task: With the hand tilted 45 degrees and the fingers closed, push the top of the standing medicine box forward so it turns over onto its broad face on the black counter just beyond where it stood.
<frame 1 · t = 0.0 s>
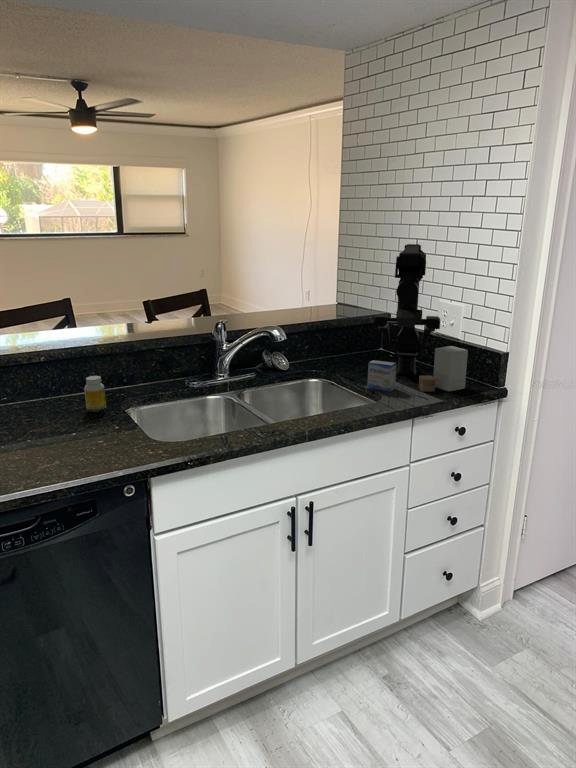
hand: (405, 350, 166), 15 cm above the worktop, tool pointing down, fingers open, 9 cm apart
supplement box: (448, 387, 181), on the worktop
walnut block: (426, 389, 178), on the worktop
supplement bottle: (96, 410, 161), on the worktop
medicine box: (381, 389, 180), on the worktop
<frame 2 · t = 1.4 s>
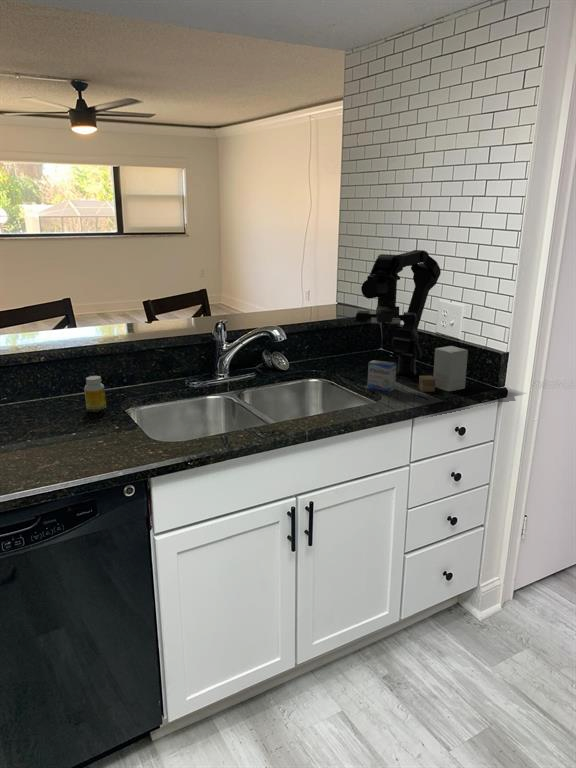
hand: (384, 343, 182), 13 cm above the worktop, tool pointing down, fingers closed
nothing on the worktop moved.
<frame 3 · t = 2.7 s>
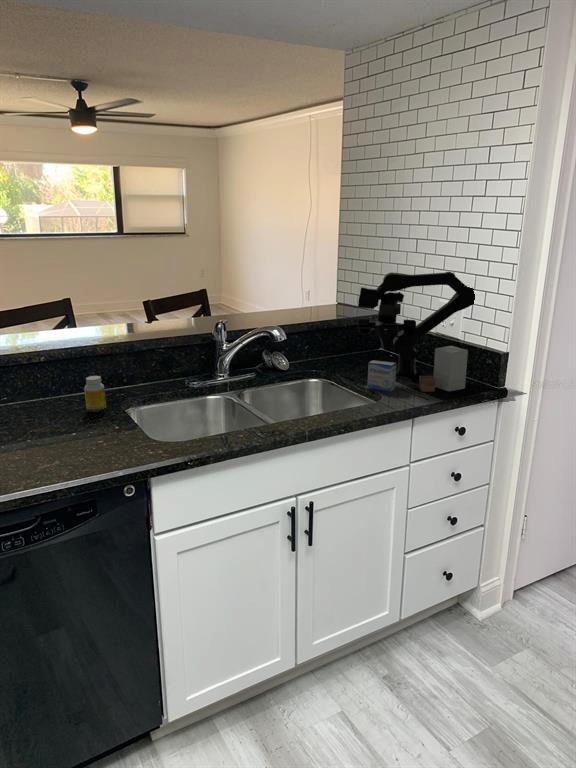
hand: (384, 348, 182), 12 cm above the worktop, tool tilted 45°, fingers closed
nothing on the worktop moved.
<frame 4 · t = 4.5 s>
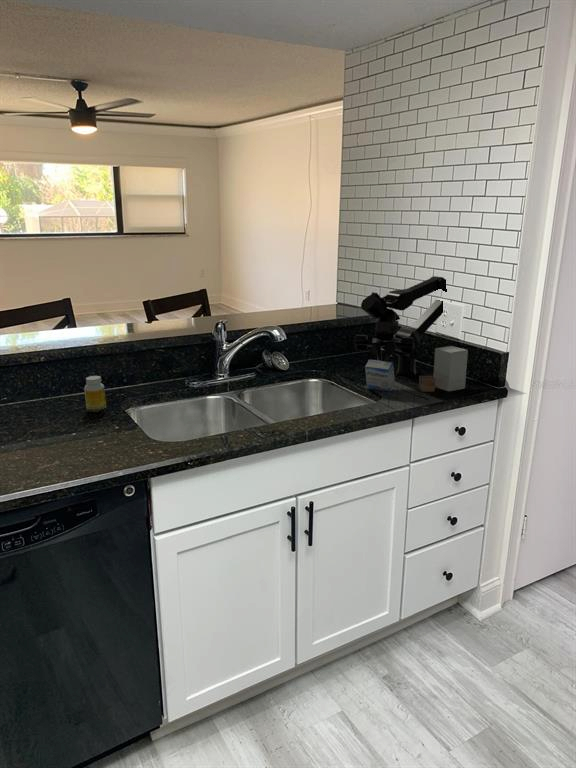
hand: (381, 366, 177), 7 cm above the worktop, tool tilted 45°, fingers closed
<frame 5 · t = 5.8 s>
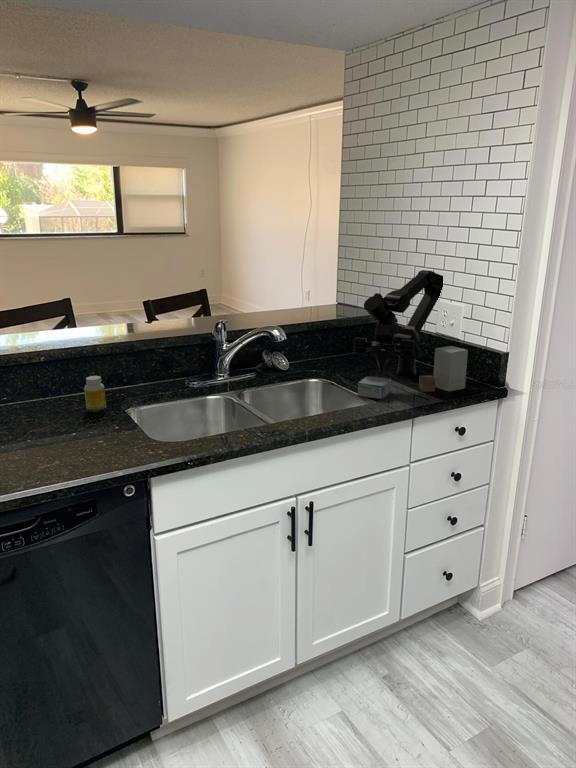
hand: (381, 370, 174), 7 cm above the worktop, tool tilted 45°, fingers closed
medicine box: (379, 383, 177), point 2 cm above the worktop
everything else where it was.
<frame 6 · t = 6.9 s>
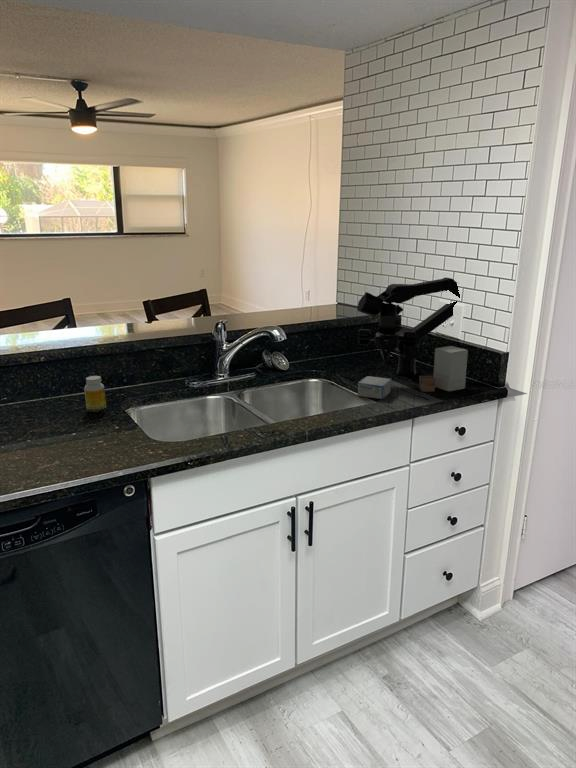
hand: (385, 360, 181), 8 cm above the worktop, tool tilted 45°, fingers closed
nothing on the worktop moved.
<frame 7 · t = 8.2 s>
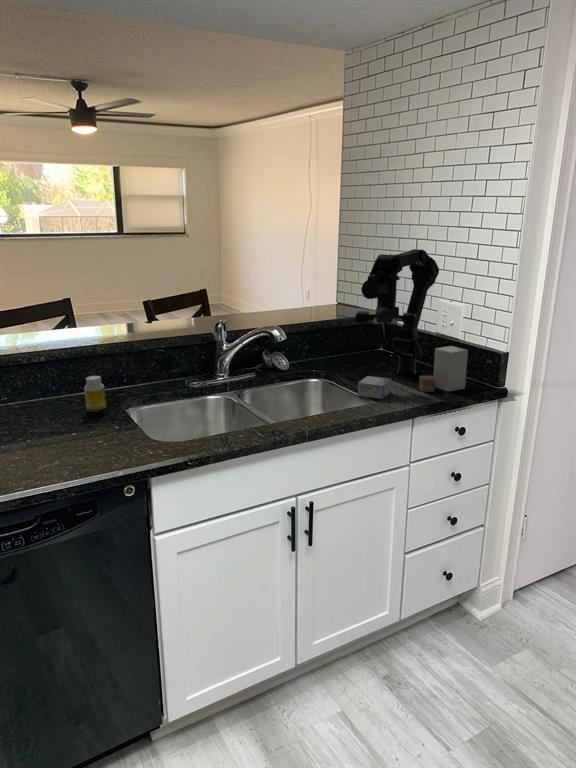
hand: (384, 344, 181), 13 cm above the worktop, tool pointing down, fingers closed
nothing on the worktop moved.
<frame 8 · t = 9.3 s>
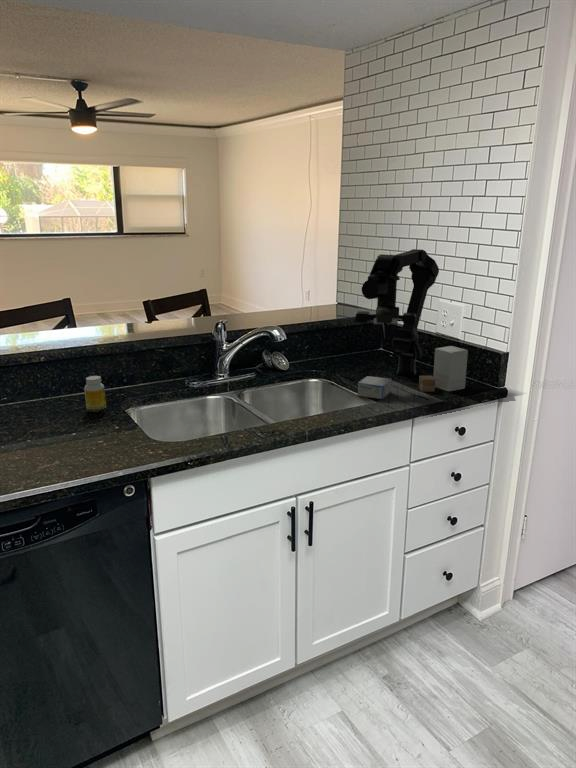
hand: (384, 344, 181), 13 cm above the worktop, tool pointing down, fingers closed
nothing on the worktop moved.
at the end: medicine box tilted 90°; medicine box inside the target area (5.5 cm from its centre), point 2.2 cm above the worktop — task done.
